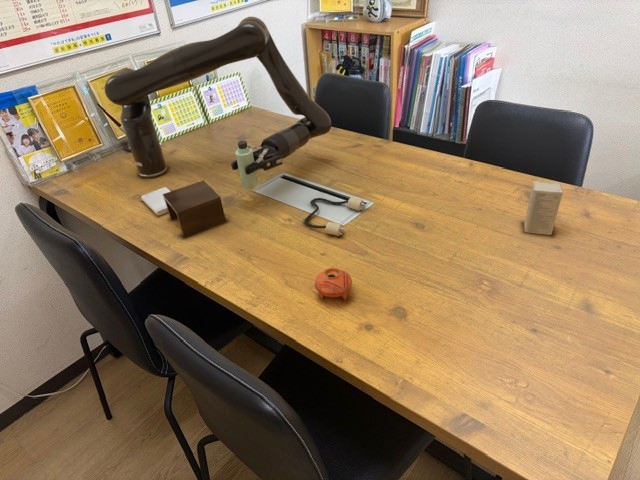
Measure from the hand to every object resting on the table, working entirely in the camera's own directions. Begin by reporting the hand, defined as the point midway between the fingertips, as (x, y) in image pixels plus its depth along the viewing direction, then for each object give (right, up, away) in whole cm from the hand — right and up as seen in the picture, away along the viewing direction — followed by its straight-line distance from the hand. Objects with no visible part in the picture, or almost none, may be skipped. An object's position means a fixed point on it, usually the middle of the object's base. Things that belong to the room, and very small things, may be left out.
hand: (239, 169), depth 120 cm
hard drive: (-25, -8, +14) cm, 30 cm away
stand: (-12, -14, +5) cm, 19 cm away
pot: (+25, -31, -23) cm, 46 cm away
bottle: (+2, -3, +5) cm, 7 cm away
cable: (+24, -13, +1) cm, 28 cm away
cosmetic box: (+76, -17, -10) cm, 78 cm away
